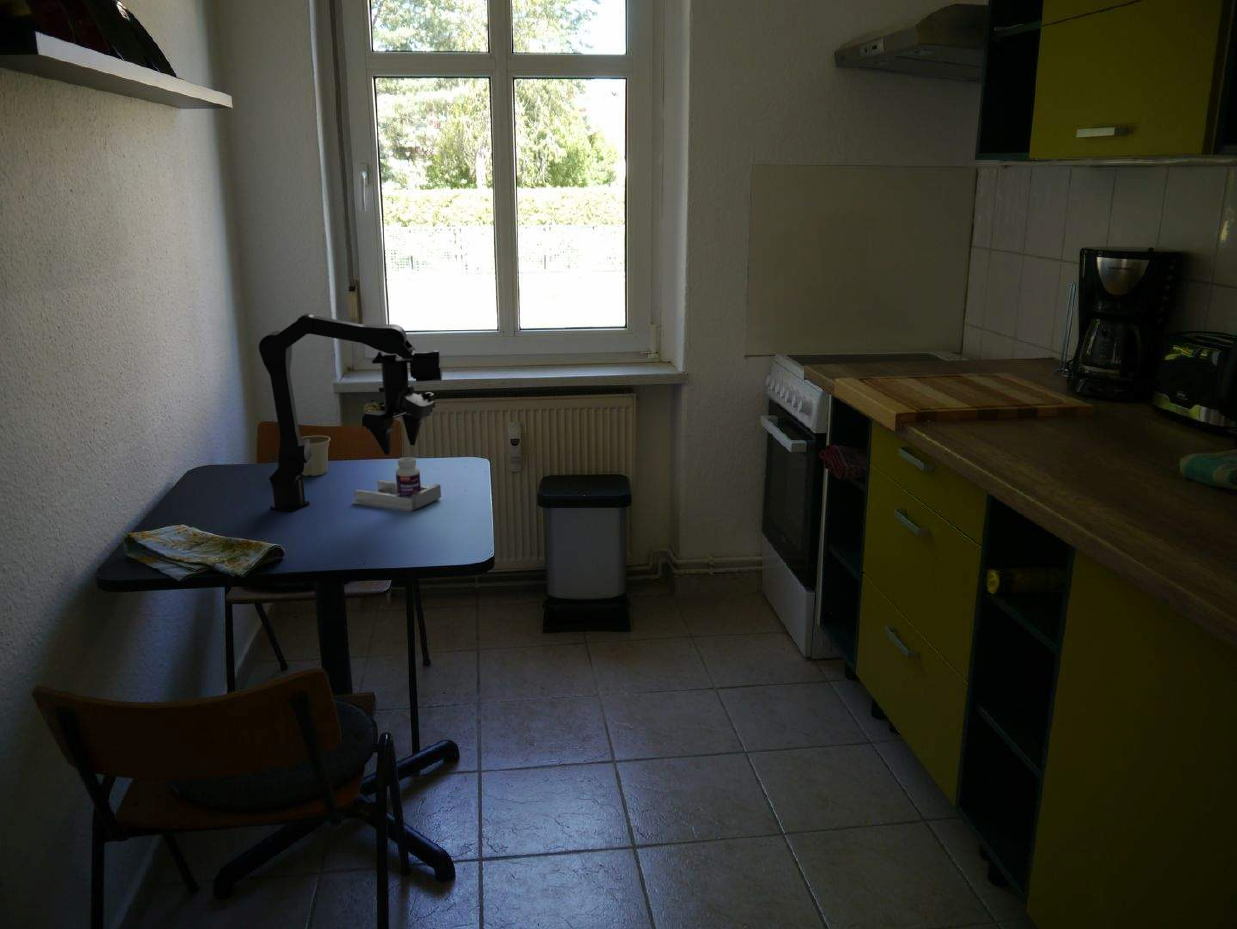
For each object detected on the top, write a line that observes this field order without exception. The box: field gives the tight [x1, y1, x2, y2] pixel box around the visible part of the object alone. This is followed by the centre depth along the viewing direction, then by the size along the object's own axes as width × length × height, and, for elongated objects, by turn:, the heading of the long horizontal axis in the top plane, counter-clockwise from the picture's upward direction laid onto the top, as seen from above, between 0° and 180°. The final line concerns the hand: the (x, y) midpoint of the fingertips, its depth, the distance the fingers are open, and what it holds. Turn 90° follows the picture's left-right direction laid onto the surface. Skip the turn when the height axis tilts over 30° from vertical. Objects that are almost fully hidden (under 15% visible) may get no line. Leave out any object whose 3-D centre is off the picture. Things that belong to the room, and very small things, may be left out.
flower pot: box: [301, 435, 331, 477], centre depth 260 cm, size 9×9×9 cm
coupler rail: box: [352, 479, 442, 513], centre depth 237 cm, size 11×17×4 cm, turn 64°
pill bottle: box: [395, 456, 422, 497], centre depth 235 cm, size 5×5×10 cm
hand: (400, 449), depth 234 cm, fingers open, 9 cm apart
